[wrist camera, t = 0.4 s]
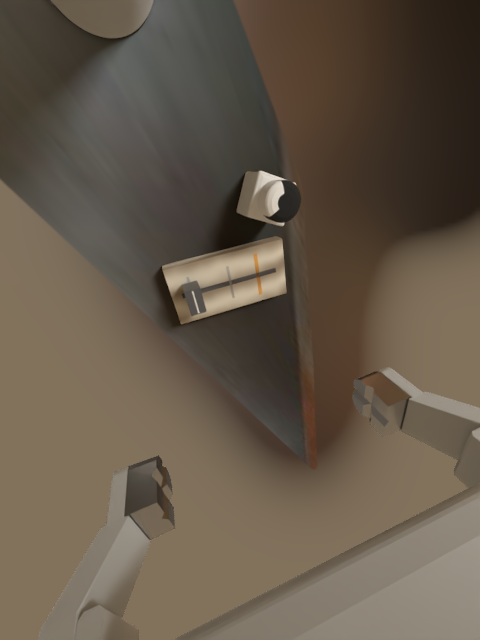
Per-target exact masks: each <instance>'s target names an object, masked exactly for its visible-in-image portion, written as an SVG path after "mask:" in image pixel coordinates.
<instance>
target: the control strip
mask: <svg viewBox="0 0 480 640" xmlns="http://www.w3.org/2000/svg"><path fill="white" fill-rule="evenodd" d="M162 270H163V273H164V276H165V279H166V282H167V285H168V288H169V291H170V293H171V296H172V299H173V302H174V305H175V308H176V311H177V314H178V317H179V320H180V323H181V324H185V323H188V322H191V321H195V320H198V319H201V318H205V317H208V316H211V315H215V314H218V313H221V312H224V311H228V310H231V309H234V308H238V307H241V306H244V305H248V304H251V303H254V302H258V301H261V300H264V299H268V298H271V297H274V296H278V295H281V294H284V293H286V281H285V268H284V256H283V243H282V239H281V238H279V237H277V236H275V237H271V238H267V239H263V240H259V241H255V242H251V243H247V244H244V245H240V246H236V247H232V248H228V249H224V250H220V251H216V252H213V253H209V254H205V255H201V256H197V257H193V258H189V259H185V260H182V261H178V262H174V263H170V264H166V265H162ZM193 281H197V282H198V284H199V286H200V289H201V292H202V296H203V300H204V303H205V307H206V311H207V312H204V313H201V314H197V315H194V316H191V313H190V310H189V307H188V304H187V301H186V297H185V294H184V291H183V288H182V284H186V283H190V282H193Z"/></svg>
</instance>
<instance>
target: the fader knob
mask: <svg viewBox="0 0 480 640" xmlns="http://www.w3.org/2000/svg"><path fill="white" fill-rule="evenodd" d="M182 288H183V291H184V294H185V297H186V301H187V304H188V307H189V310H190V313H191V316H194V315H197V314H201V313H204V312H207V311H206V307H205V303H204V300H203V296H202V292H201V289H200V286H199V284H198V282H197V281H193V282H190V283H186V284H182Z"/></svg>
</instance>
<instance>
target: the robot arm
mask: <svg viewBox="0 0 480 640" xmlns="http://www.w3.org/2000/svg"><path fill="white" fill-rule="evenodd" d="M51 1H52V3H53V4H54V5H55V6H56V7H57V8H58V9H59V10H60V11H61V12H62V13H63V14H64V15H65V16H66V17H67V18H68V19H69V20H70V21H72V22H73V23H74V24H76V25H77V26H79V27H80V28H82V29H83V30H85V31H87V32H89V33H91V34H94V35H97V36H100V37H104V38H121V37H125V36H127V35H129V34H131V33H133V32H135V31H136V30H137V29H138V28H139V27H140V26H141V25H142V24H143V23H144V21H145V20H146V18H147V16H148V15H149V12H150V10H151V7H152V4H153V1H154V0H51ZM354 387H355V388H356V390H355V391H354V393H353V402H354V404H355V407H356V408H357V410H358V411H359V412H360V413H361V414H362V415H363V416H365V417H368V418H370V424H371V425H372V427H373V428H374V429H375V430H376V431H377V432H378V433H379V434H380V435H381V436H382V437H385V436H387V435H390V434H392V433H395V432H397V431H400V430H401V431H402V432H404V433H406V434H408V435H409V436H411V437H414V438H416V439H418V440H419V441H422V442H424V443H425V444H427V445H429V446H431V447H433V448H435V449H437V450H439V451H441V452H443V453H445V454H447V455H449V456H451V457H453V458H455V459H457V460H458V462H457V464H456V466H455V468H454V475H455V476H456V477H457V478H459V480H460V481H461V482H462V483H464V484H465V485H466V486H467V487H468V489H467V490H464V491H463V492H460V493H459V494H457V495H455V496H453V497H451V498H449V499H447V500H445V501H443V502H441V503H439V504H437V505H435V506H433V507H431V508H429V509H427V510H426V511H423V512H421V513H419V514H418V515H416V516H414V517H412V518H410V519H408V520H406V521H404V522H402V523H400V524H398V525H396V526H394V527H392V528H390V529H388V530H386V531H385V532H382V533H381V534H379V535H377V536H375V537H373V538H371V539H369V540H367V541H365V542H363V543H361V544H359V545H357V546H355V547H353V548H351V549H349V550H347V551H345V552H344V553H341V554H340V555H338V556H336V557H334V558H332V559H330V560H328V561H326V562H324V563H322V564H320V565H318V566H316V567H314V568H312V569H310V570H308V571H306V572H304V573H302V574H301V575H299V576H297V577H295V578H293V579H291V580H289V581H287V582H285V583H283V584H281V585H279V586H277V587H275V588H273V589H271V590H269V591H267V592H265V593H264V594H261V595H260V596H258V597H256V598H254V599H252V600H250V601H248V602H246V603H244V604H242V605H240V606H238V607H236V608H234V609H232V610H230V611H229V612H227V613H224V614H222V615H220V616H219V617H217V618H215V619H213V620H211V621H209V622H207V623H205V624H203V625H201V626H199V627H197V628H195V629H193V630H191V631H189V632H187V633H185V634H183V635H181V636H180V637H178V638H176V639H174V640H480V408H478V407H474V406H471V405H468V404H465V403H462V402H458V401H455V400H451V399H448V398H445V397H442V396H439V395H435V394H432V393H429V392H424V393H423V392H421V391H420V390H419V389H417V388H416V387H415V386H414V385H412V384H411V383H410V382H408V381H407V380H406V379H404V378H403V377H402V376H401V375H399V374H398V373H397V372H395V371H394V370H393V369H391V368H389V367H386V368H383V369H381V370H378V371H375V372H372V373H370V374H367V375H365V376H362V377H360V378H358V379H356V380H355V381H354ZM171 496H172V484H171V479H170V475H169V473H168V470H167V468H166V467H163V466H162V460H161V458H160V457H159V455H158V456H156V457H153V458H150V459H147V460H145V461H142V462H139V463H136V464H134V465H131V466H128V467H125V468H123V469H120V470H118V471H115V472H114V474H113V477H112V483H111V490H110V498H109V507H108V515H107V521H106V525H104V526H102V527H101V528H100V530H99V532H98V533H97V535H96V537H95V539H94V540H93V542H92V544H91V545H90V547H89V549H88V550H87V552H86V554H85V555H84V557H83V559H82V560H81V562H80V564H79V565H78V567H77V569H76V570H75V572H74V574H73V576H72V577H71V579H70V581H69V582H68V584H67V586H66V587H65V589H64V591H63V593H62V594H61V596H60V598H59V599H58V601H57V603H56V604H55V606H54V608H53V609H52V611H51V613H50V614H49V616H48V618H47V619H46V621H45V623H44V624H43V626H42V628H41V630H40V633H39V637H38V640H139V630H138V629H137V628H136V627H135V626H134V625H132V624H131V623H129V622H127V621H126V620H124V619H122V617H123V614H124V612H125V609H126V606H127V603H128V601H129V598H130V595H131V593H132V590H133V588H134V585H135V582H136V579H137V577H138V574H139V572H140V569H141V566H142V563H143V561H144V558H145V555H146V553H147V550H148V547H149V545H150V540H151V539H153V538H155V537H158V536H160V535H162V534H164V533H166V532H168V531H170V530H173V529H175V523H174V507H173V506H172V504H171V502H170V501H169V500H170V498H171Z"/></svg>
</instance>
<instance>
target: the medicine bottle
mask: <svg viewBox="0 0 480 640" xmlns="http://www.w3.org/2000/svg"><path fill="white" fill-rule="evenodd" d="M300 203H301V196H300V191H299V189H298V187H297V186H296V183H294V182H291V181H288V180H285V179H283V178H280V177H277V176H274V175H271V174H269V173H266V172H263V171H248V172H246V173H245V177H244V182H243V186H242V190H241V194H240V198H239V202H238V207H237V213H239V214H241V215H244V216H247V217H249V218H253V219H256V220H260V221H264V222H267V223H271V224H275V225H278V226H283V225H284V223H285V222H287V221H289V220H291V219H292V218H293V217H294V216H295V215H296V214H297V212H298V210H299V207H300Z"/></svg>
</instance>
